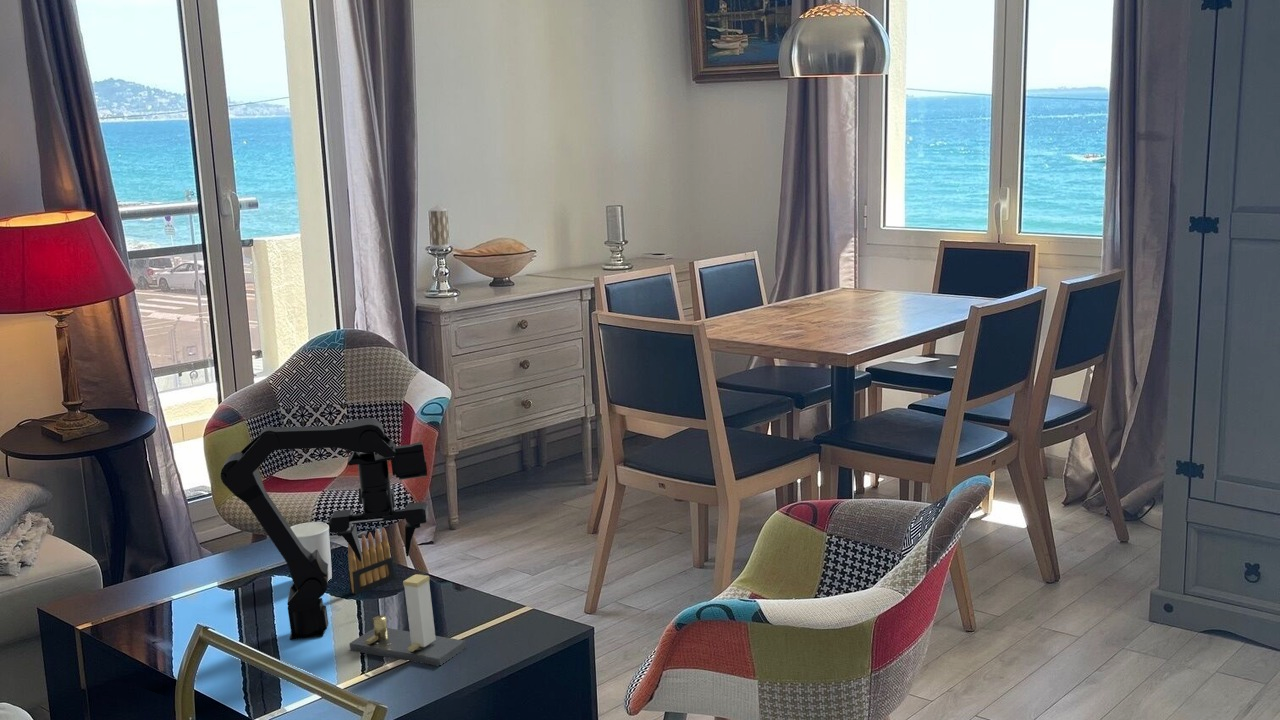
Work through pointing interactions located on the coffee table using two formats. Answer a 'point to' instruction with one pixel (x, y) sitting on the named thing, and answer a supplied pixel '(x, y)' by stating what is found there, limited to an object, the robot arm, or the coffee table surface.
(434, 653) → the plate
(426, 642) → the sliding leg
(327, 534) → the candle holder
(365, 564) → the ammunition clip
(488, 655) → the coffee table surface
